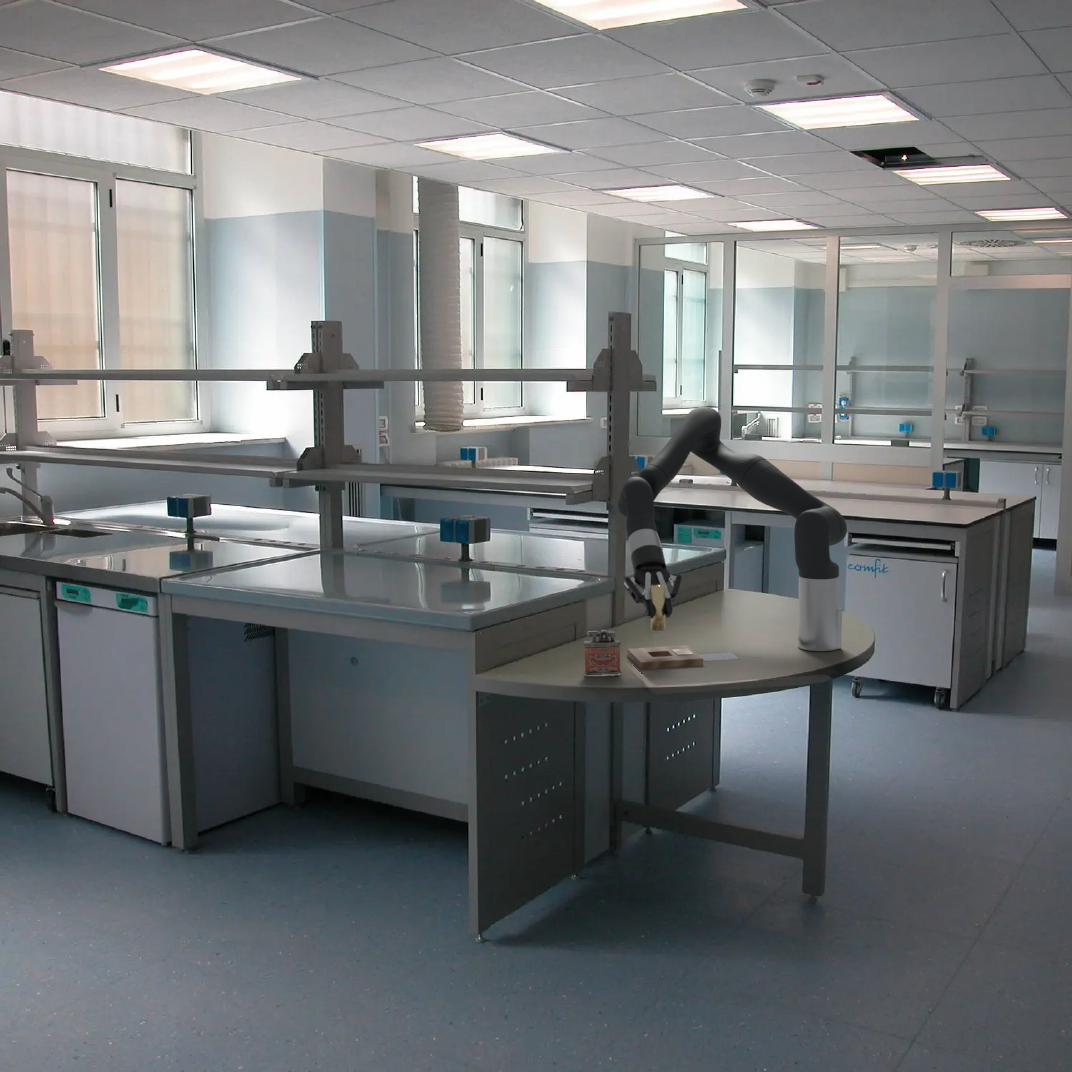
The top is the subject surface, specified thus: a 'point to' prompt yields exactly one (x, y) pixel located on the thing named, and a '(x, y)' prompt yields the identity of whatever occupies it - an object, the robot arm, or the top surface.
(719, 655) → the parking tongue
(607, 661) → the lighter
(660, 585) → the brass peg
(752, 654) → the top surface
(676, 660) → the hole board
